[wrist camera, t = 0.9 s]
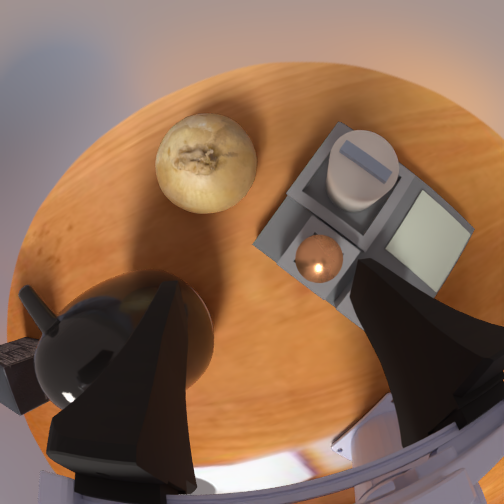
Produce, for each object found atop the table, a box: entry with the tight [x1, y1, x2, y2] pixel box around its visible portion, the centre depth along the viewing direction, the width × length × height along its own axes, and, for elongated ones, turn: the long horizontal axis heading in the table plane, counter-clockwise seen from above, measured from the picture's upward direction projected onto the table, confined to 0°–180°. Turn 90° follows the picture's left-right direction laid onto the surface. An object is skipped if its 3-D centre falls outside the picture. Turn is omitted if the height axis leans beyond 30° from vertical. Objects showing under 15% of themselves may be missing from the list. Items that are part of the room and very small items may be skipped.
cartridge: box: [326, 130, 399, 213], centre depth 17 cm, size 4×4×6 cm
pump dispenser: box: [19, 269, 214, 410], centre depth 18 cm, size 10×10×15 cm
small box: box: [0, 337, 50, 416], centre depth 25 cm, size 11×6×10 cm, turn 96°
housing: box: [252, 122, 475, 330], centre depth 19 cm, size 14×12×4 cm
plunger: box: [295, 235, 343, 283], centre depth 18 cm, size 3×3×3 cm
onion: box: [155, 113, 257, 214], centre depth 21 cm, size 8×8×7 cm
